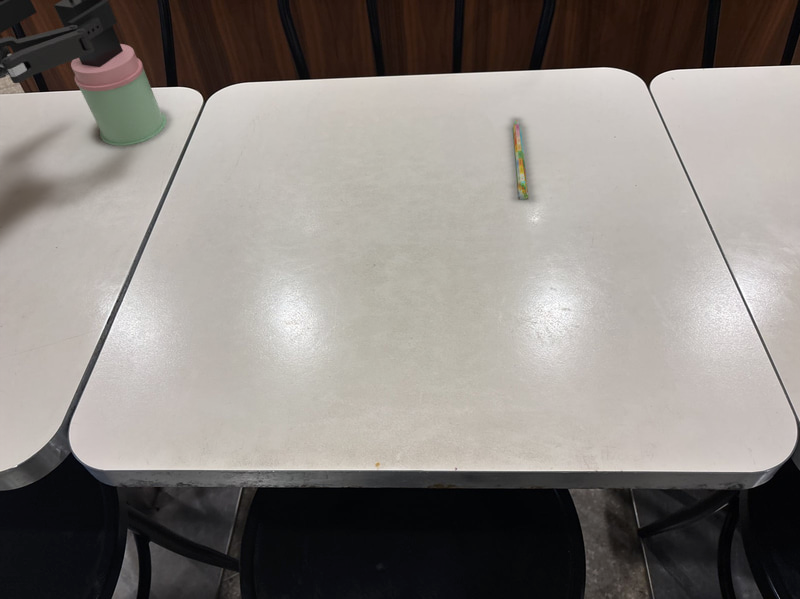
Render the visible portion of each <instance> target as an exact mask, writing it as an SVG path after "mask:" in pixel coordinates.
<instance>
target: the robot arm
mask: <svg viewBox="0 0 800 599" xmlns="http://www.w3.org/2000/svg"><path fill="white" fill-rule="evenodd" d="M110 4H111V3H110V1H109V0H102V1H101V2H100V3H98V4H96V5H95V6H93V7H92V8H90V9H88V10H87V11H85V12H83V13H82V14H80V15H78V16H77V17H75V18H74V19H72V20H70V21H69V22H67V23H68V25H69V26H68V27H64V26H63V27H60V28H56V29H53V30H52V29H51V30H48V31H45V32H41V33H37V34H32V35H29V36H25V37H21V38H15V37H13V36H6V37H2V38H0V79H4V78H6V77H7V76H8V77H9V78H10V80H11V81H12V83H13V84H21V83H23V82H24V81H26V80H28V79H30V78H31V77H33V76H34V75H38V74H40V73H42V72H45V71H48V70H51V69H53V68H55V67H58V66H61V65H63V64H67V63H69V62H72V61H73V60H74V59H77V58H80V57H82V56H85V55H88V54H90V53H93V52H94V51H95V49H94V47H93V45H92V43H91V41H90V40H92V39H93V38H95V37H96V36H98V35H99V34H101V33H102V32H104V31H105V30H107V29H108V28H110V27H111V26H113V27H114V25H116V24H117V23H118V21H117V19H116V17H115V16H116V15H115V14H114V12H113V9H112V6H111V5H110ZM35 14H37V9H36V7H35V6H34V4H33V2H32V0H2V1H0V34H2V33H4V32H5V31H8V29H11V28H12V27H14V26H16V25H17V24H19V23H22V22H23V21H25V20H26V19H29V17H30V18H31V17H32V16H33V15H35ZM8 47H10V49H11V51H12V52H13V53H11V51H10V49H9V48H8Z"/></svg>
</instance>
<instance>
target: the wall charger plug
mask: <svg viewBox="0 0 800 599" xmlns="http://www.w3.org/2000/svg"><path fill="white" fill-rule="evenodd" d="M101 1H103V0H61V1H59V2H56V3H55V4H54V5H53V7H54V9H55V11H56V14H57V16H58V17H59V19H60V22H61V24H62V26H63V28H64V27H68V26H69V25H68V23H67V22H69V21H70V20H72V19H74V18H75V17H77V16H78V15H80V14H82V13H83V12H85V11H87V10H88V9H90V8H92V7H93V6H95V5H96V4H98V3H100V2H101ZM90 41H91V43H92V45H93V47H94V49H95V51H94V52H93V53H90V54H88V55H85V56H82V57H80V58H79V59H80V61H81V63H82V65H88V66H95V67H101V66H102V65H104V64H105V63H107V62H108V61H109V60H111V59H112V58H114V57H115V56H116V55H118V54H119V53H121V52H122V51H123V50H122V47H121V45H120V44H121V43H120V40H119V38H118V35H117V33H116V30H115V28H114V25H113V26H111V27H110V28H108V29H107V30H105V31H104V32H102V33H101V34H99V35H98V36H96V37H95V38H93V39H92V40H90Z"/></svg>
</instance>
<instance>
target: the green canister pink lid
mask: <svg viewBox="0 0 800 599" xmlns="http://www.w3.org/2000/svg"><path fill="white" fill-rule="evenodd" d="M120 45H121V47H122V50H123V51H122V52H121V53H119V54H118V55H116V56H115V57H114V58H112V59H111V60H109V61H108V62H107V63H105V64H104V65H102V66H101V67H95V66H88V65H82V63H81V61H80V59H79V58H77V59H74V60H72V61H71V62H70V67H71V69H72V71H73V74H74V82H75V84H76V86H77V87H78V88H79V90H80V92H81V94H82V96H83V98H84V101H85V103H86V104H87V106H88V108H89V110H90V112H91V114H92V117H93V118H94V120H95V122H96V124H97V126H98V128H99V130H100V131H99V135H100V138H101V140H102V141H103V142H104V143H105V144H108V145H110V146H114V147H115V146H117V147H127V146H134V145H138V144H141V143H144V142H148V141H149V140H151V139H152V138H153V139H154V137H157V136H158V135H159V134H160V133H161V132H162V131H163V130H164V129H165V128H166V125H167V123H168V120H167V119H168V118H167V117H166V115H165V114H164V113H163V112H162V111H161V108H160V107H159V103H158V101H157V98H156V96H155V94H154V92H153V89H152V86H151V83H150V82H149V79H148V77H147V74H146V72H145V69H144V65H143V62H142V60H140V58H138V57H137V55H136V52H135V50H134V48H133V47H132V46H130V45H127V44H123V43H120Z"/></svg>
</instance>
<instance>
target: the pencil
mask: <svg viewBox="0 0 800 599" xmlns="http://www.w3.org/2000/svg"><path fill="white" fill-rule="evenodd" d="M512 135H513V146H514V155H515V156H514V157H515V168H516V169H515V170H516V179H517V193H518V198H519V199H520V200H523V201H524V200H527V199H528V198H529V196H530V195H529V189H528V181H527V172H526V162H525V152H524V143H523V142H524V141H523V134H522V126H521V125H520V122H519V121H518V119H517V118H515V120H514V124H513V126H512Z"/></svg>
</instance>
